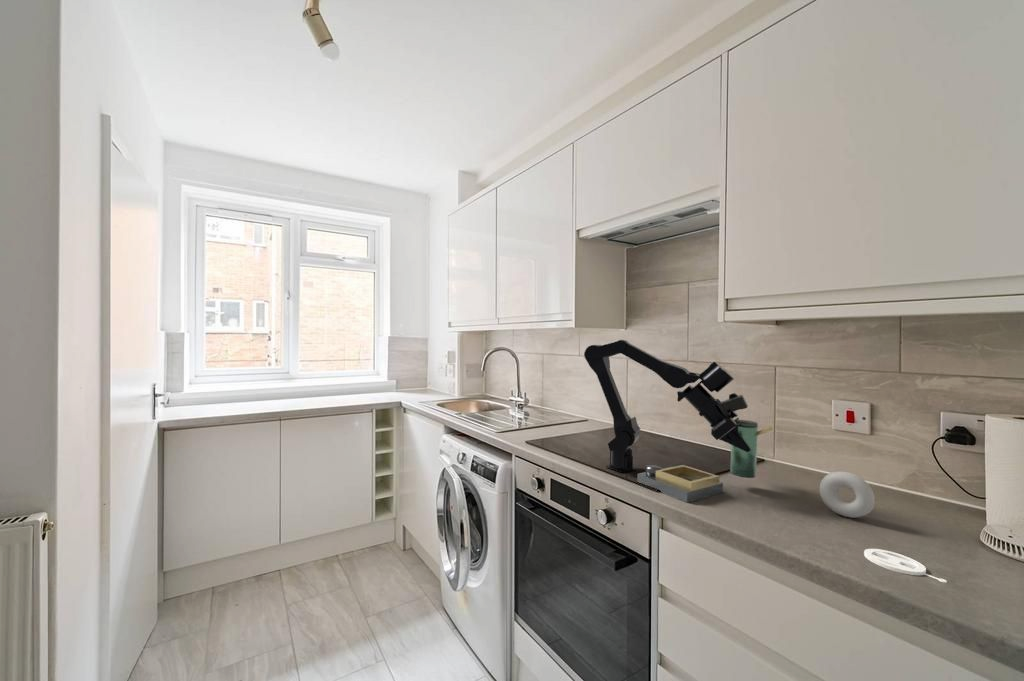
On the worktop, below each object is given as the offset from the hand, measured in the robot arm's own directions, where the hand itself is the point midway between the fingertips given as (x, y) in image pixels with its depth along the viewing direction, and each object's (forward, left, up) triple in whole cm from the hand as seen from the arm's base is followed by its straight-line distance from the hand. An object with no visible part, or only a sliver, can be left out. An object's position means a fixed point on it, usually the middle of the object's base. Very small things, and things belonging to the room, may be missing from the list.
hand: (749, 448), depth 111 cm
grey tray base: (-10, -16, -11) cm, 21 cm away
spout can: (0, 0, -7) cm, 7 cm away
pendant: (+36, -14, -11) cm, 40 cm away
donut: (+21, +2, -11) cm, 24 cm away
